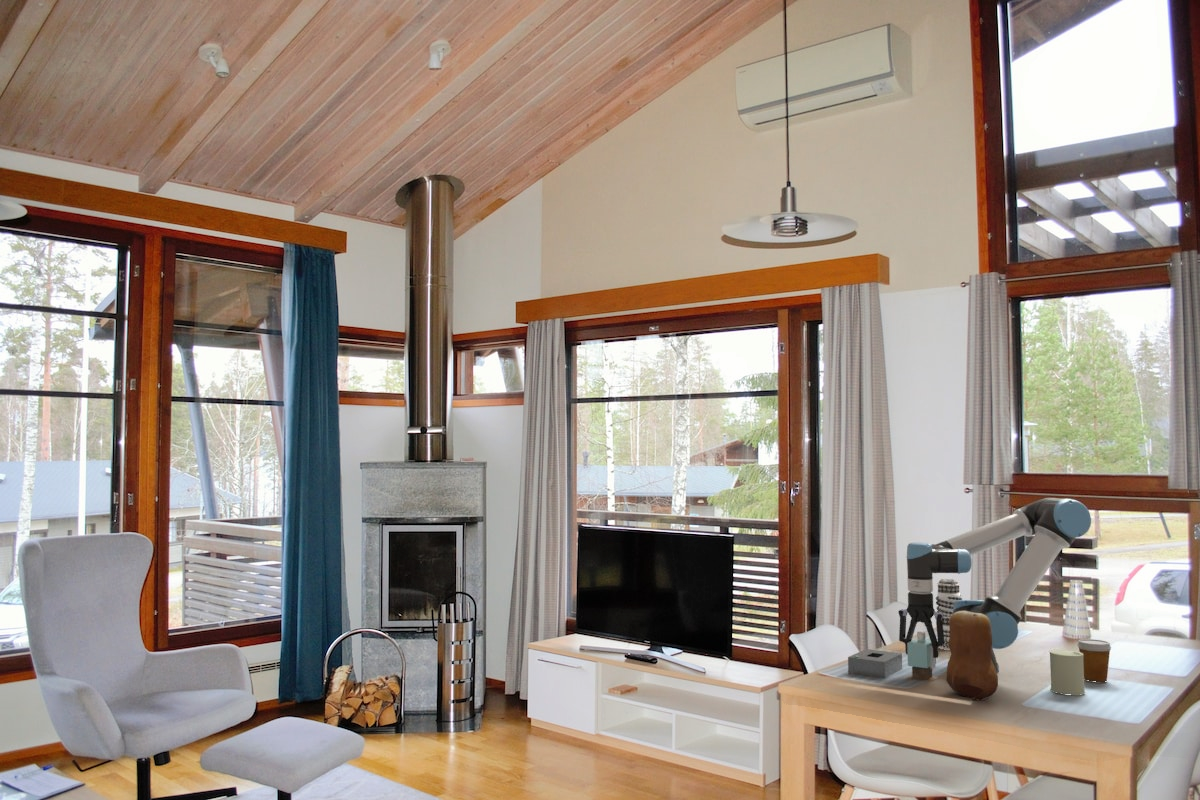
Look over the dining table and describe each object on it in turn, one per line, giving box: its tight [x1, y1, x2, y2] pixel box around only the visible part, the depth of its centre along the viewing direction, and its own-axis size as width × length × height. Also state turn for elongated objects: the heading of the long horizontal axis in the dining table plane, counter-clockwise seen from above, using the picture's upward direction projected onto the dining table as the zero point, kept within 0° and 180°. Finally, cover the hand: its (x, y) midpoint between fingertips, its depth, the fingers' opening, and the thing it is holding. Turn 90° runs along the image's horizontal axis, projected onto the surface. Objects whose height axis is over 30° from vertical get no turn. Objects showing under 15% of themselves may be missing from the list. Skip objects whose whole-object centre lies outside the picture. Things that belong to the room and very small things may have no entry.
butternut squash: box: [945, 611, 999, 701], centre depth 267 cm, size 14×13×25 cm
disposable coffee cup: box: [1077, 638, 1112, 683], centre depth 289 cm, size 10×10×12 cm
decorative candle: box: [935, 578, 963, 651], centre depth 338 cm, size 9×9×25 cm
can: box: [1049, 649, 1086, 696], centre depth 275 cm, size 9×9×12 cm
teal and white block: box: [907, 631, 937, 668], centre depth 289 cm, size 6×9×14 cm, turn 143°
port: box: [847, 648, 903, 679], centre depth 297 cm, size 12×16×6 cm
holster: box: [905, 666, 939, 683], centre depth 288 cm, size 8×8×4 cm
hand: (922, 666), depth 288 cm, fingers closed on teal and white block, 6 cm apart
